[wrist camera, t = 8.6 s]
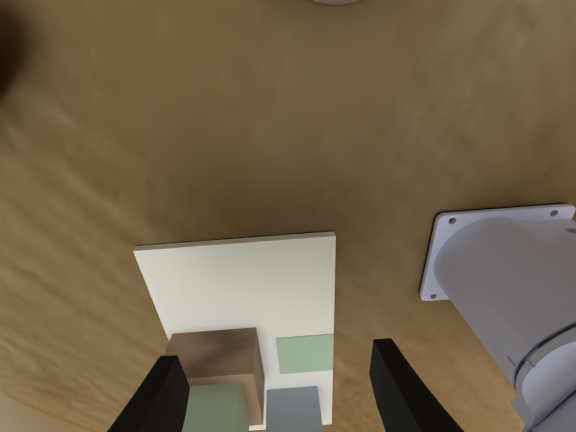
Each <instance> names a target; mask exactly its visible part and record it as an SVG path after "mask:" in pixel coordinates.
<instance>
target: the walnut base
mask: <svg viewBox="0 0 576 432" xmlns="http://www.w3.org/2000/svg"><path fill="white" fill-rule="evenodd" d="M171 355H178V358H179V361H180V363H181V366H182V368H183V371H184V373H185V376H186V378H187V381H188V383H189V386H200V385H212V384H223V383H235V382H240V383H241V387H242V391H243V395H244V399H245V402H246V406H247V410H248V414H249V418H250V422H249V426H253V425H263V418H264V386H265V376H264V370H263V364H262V358H261V352H260V347H259V341H258V335H257V329H256V327H253V328H240V329H227V330H214V331H201V332H188V333H175V334H172V336H171V339H170V341H169V344H168V347H167V349H166V352H165V355H164V356H171Z"/></svg>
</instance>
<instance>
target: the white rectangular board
mask: <svg viewBox="0 0 576 432" xmlns="http://www.w3.org/2000/svg"><path fill="white" fill-rule="evenodd" d="M335 251H336V235H335V232H334V231H332V232H319V233H305V234H292V235H278V236H265V237H252V238H238V239H225V240H211V241H198V242H185V243H171V244H158V245H144V246H136V248H135V249H134V251H133V252H134V255H135V257H136V260H137V262H138V265H139V267H140V270H141V272H142V275H143V277H144V280H145V282H146V285H147V287H148V290H149V292H150V295H151V297H152V300H153V302H154V305H155V307H156V310H157V312H158V315H159V317H160V320H161V322H162V325H163V327H164V330H165V332H166V335H167V337H168V340H169V341H170V339H171V336H172V334H175V333H188V332H201V331H214V330H227V329H240V328H253V327H256V329H257V335H258V341H259V347H260V352H261V358H262V364H263V370H264V376H265V386H264V418H263V425H253V426H249V431H250V430H263V429H266V400H267V390H270V389H282V388H295V387H308V386H317V387H318V395H319V403H320V410H321V418H322V425H327V424H332V382H333V348H334V294H335Z"/></svg>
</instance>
